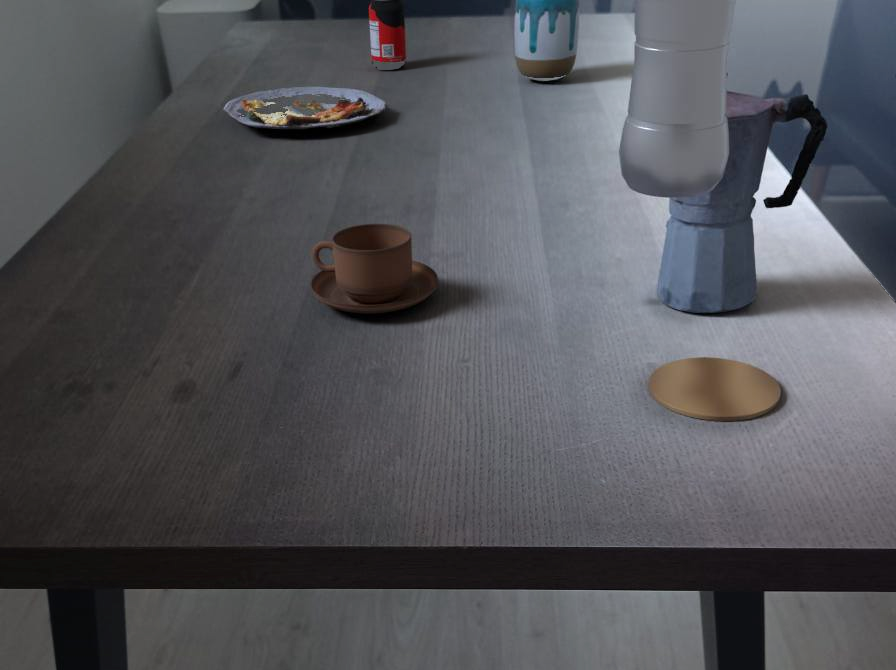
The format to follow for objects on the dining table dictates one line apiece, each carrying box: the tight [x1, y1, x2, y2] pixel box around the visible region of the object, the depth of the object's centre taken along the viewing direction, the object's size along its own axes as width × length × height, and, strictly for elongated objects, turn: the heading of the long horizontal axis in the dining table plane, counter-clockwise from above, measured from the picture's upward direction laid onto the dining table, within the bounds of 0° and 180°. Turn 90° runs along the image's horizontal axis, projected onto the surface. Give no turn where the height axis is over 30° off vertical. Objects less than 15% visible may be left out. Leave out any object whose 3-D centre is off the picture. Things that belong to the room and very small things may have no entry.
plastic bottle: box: [618, 0, 737, 199], centre depth 61 cm, size 6×7×20 cm
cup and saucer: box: [310, 223, 439, 315], centre depth 97 cm, size 12×12×6 cm
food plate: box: [222, 86, 388, 130], centre depth 158 cm, size 25×23×4 cm
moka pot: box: [656, 72, 828, 314], centre depth 91 cm, size 10×15×20 cm, turn 78°
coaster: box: [648, 356, 782, 422], centre depth 81 cm, size 10×10×1 cm
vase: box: [513, 0, 580, 83], centre depth 171 cm, size 11×11×19 cm
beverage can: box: [368, 0, 407, 62], centre depth 187 cm, size 6×6×12 cm
